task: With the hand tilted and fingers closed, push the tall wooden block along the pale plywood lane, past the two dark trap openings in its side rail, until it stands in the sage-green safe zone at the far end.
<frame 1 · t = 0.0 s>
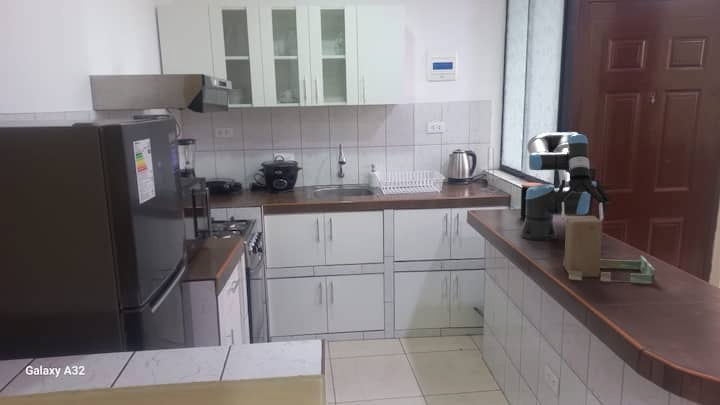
hand: (582, 219, 187), 15 cm above the countertop, tool tilted 35°, fingers open, 13 cm apart
trap lane: (605, 274, 171), on the countertop
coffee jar: (531, 218, 254), on the countertop
wooden block: (581, 273, 173), on the countertop
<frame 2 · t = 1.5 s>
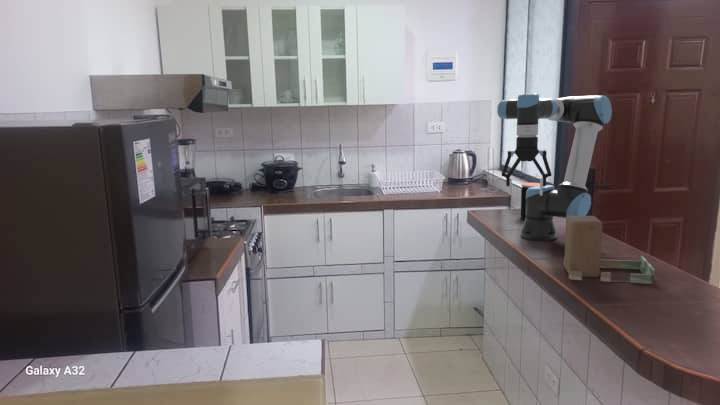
hand: (525, 194, 185), 26 cm above the countertop, tool pointing down, fingers open, 10 cm apart
nothing on the countertop moved.
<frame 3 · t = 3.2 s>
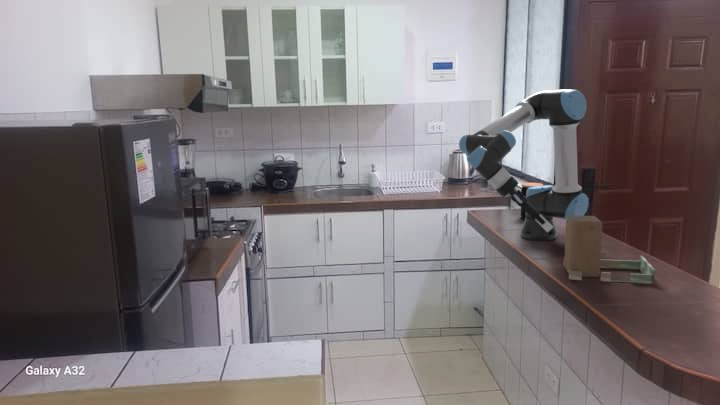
hand: (550, 229, 173), 16 cm above the countertop, tool tilted 45°, fingers closed
nothing on the countertop moved.
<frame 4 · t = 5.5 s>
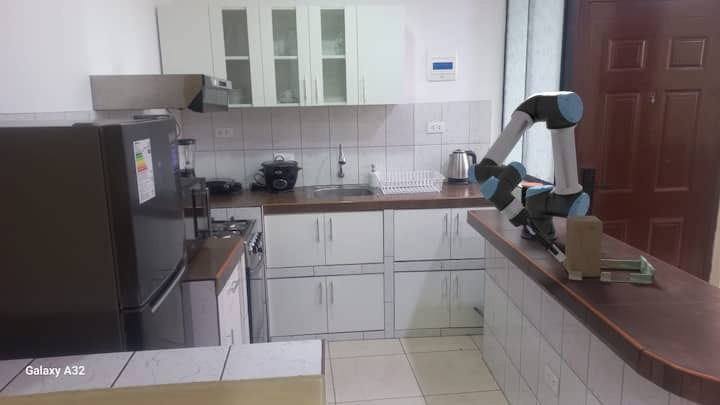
hand: (563, 259, 173), 5 cm above the countertop, tool tilted 45°, fingers closed
wooden block: (581, 273, 173), on the countertop, touching gripper
everything else where it was.
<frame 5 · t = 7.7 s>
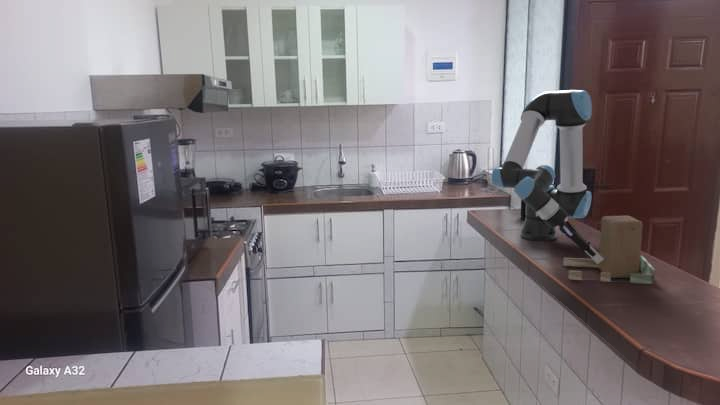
hand: (600, 260, 170), 5 cm above the countertop, tool tilted 45°, fingers closed
wooden block: (618, 274, 171), on the countertop, touching gripper
everything else where it was.
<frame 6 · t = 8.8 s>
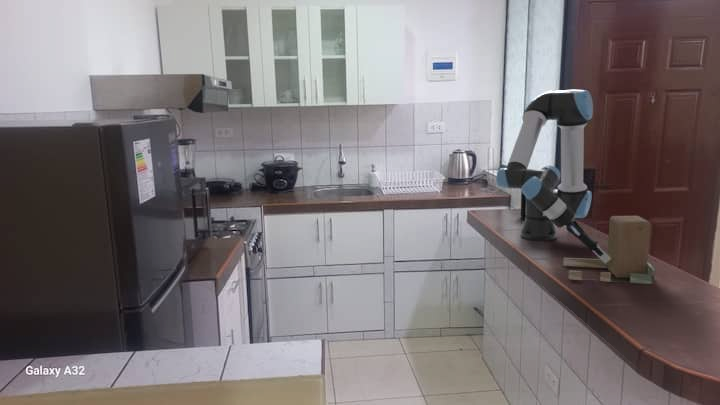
hand: (607, 260, 170), 5 cm above the countertop, tool tilted 45°, fingers closed
wooden block: (625, 274, 170), on the countertop, touching gripper
everything else where it was.
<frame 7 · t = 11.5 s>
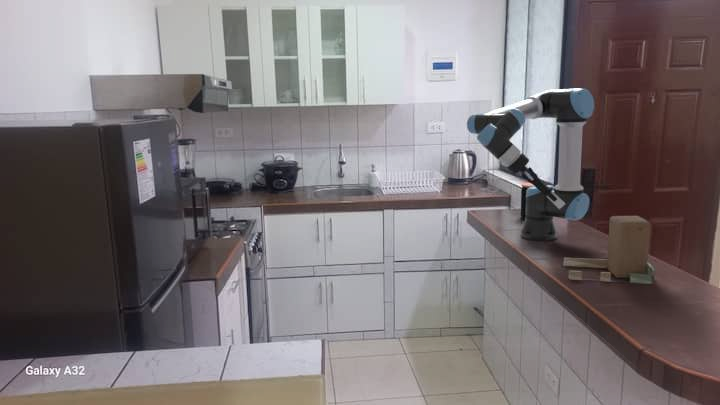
hand: (562, 206, 172), 24 cm above the countertop, tool tilted 45°, fingers closed
wooden block: (625, 274, 170), on the countertop
everything else where it was.
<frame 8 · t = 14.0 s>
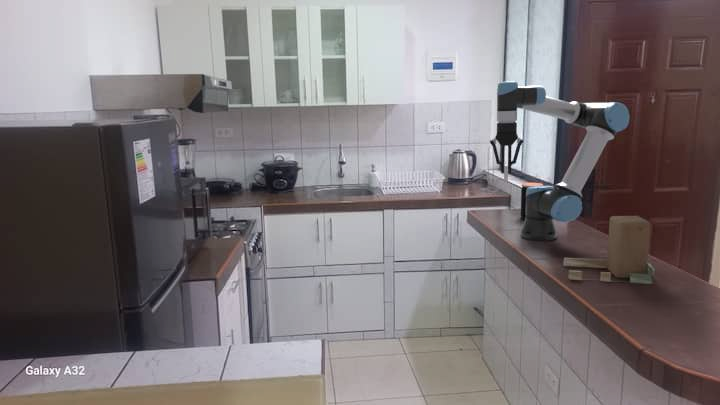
hand: (505, 181, 195), 29 cm above the countertop, tool pointing down, fingers closed
nothing on the countertop moved.
at the end: wooden block inside the target area (1.3 cm from its centre), on the countertop; wooden block tilted 0°; wooden block moved 14.7 cm from its start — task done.
